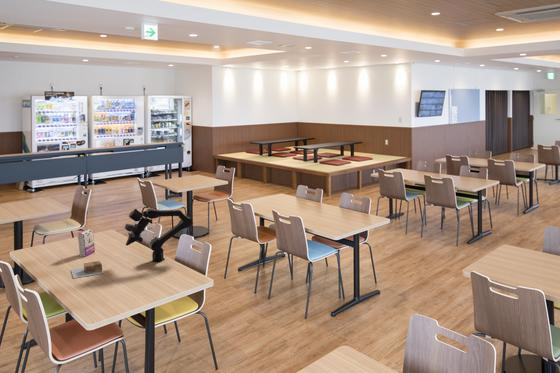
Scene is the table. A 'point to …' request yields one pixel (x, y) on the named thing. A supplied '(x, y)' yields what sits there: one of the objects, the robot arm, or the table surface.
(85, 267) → the walnut block
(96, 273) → the slate board
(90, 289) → the table surface
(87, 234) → the candy bar box
